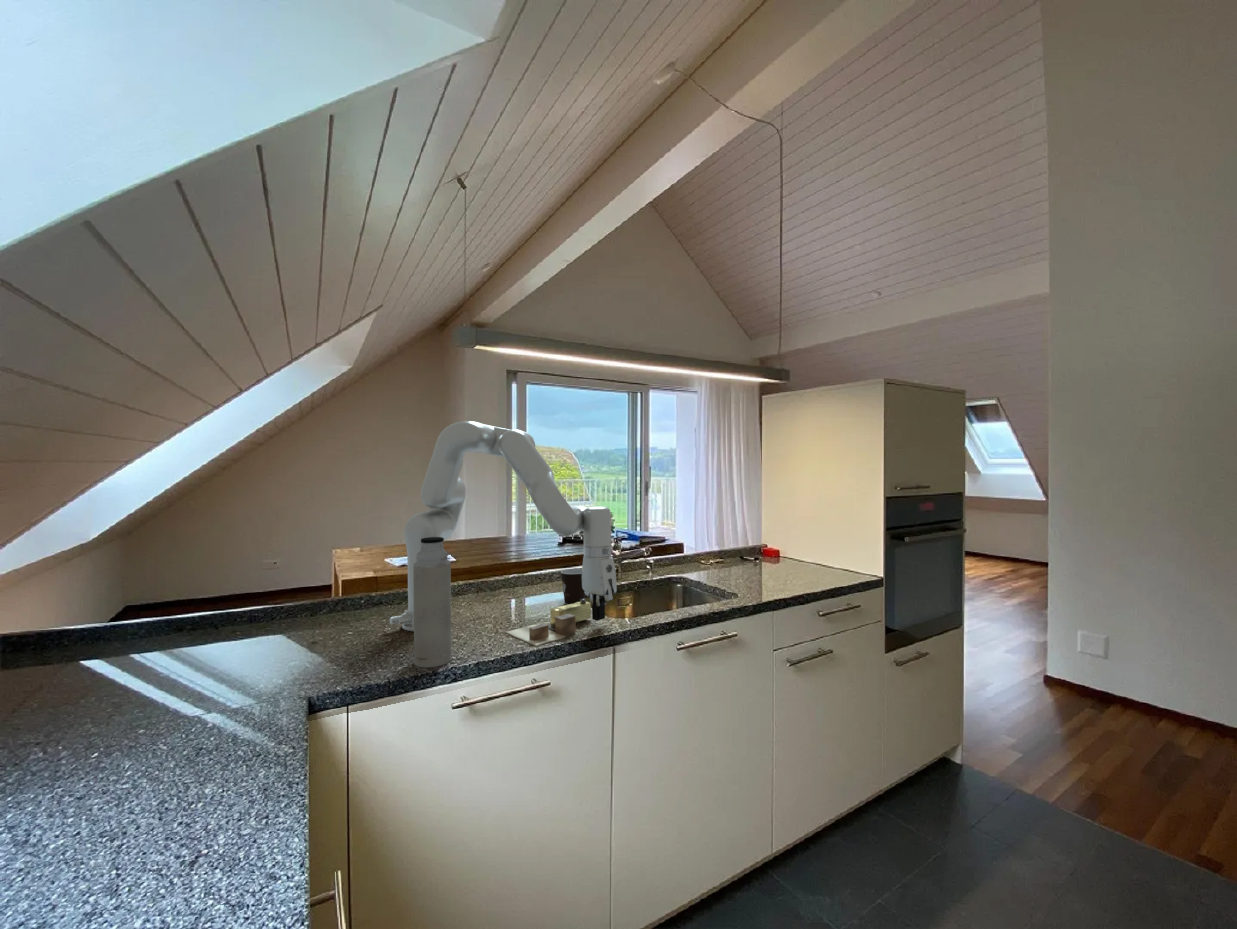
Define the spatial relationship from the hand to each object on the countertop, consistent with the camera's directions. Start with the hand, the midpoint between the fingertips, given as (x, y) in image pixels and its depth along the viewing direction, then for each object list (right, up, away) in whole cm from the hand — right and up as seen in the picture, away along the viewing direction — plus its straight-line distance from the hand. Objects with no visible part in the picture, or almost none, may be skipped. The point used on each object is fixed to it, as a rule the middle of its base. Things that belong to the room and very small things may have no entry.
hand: (598, 619), depth 139 cm
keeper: (-15, -2, -9) cm, 18 cm away
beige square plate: (-14, -2, -5) cm, 15 cm away
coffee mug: (-9, -3, +27) cm, 29 cm away
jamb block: (-9, -2, -5) cm, 10 cm away
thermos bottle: (-37, -3, -23) cm, 44 cm away
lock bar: (-8, -2, +3) cm, 9 cm away
